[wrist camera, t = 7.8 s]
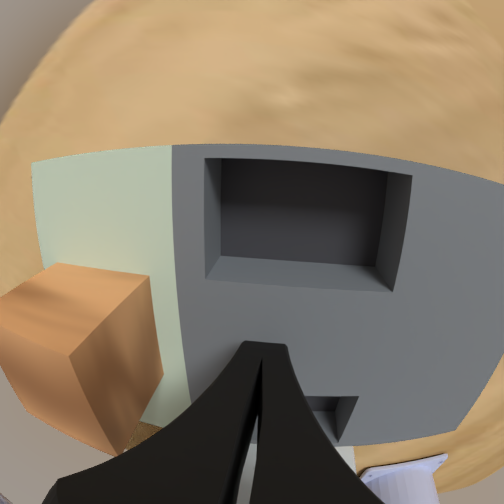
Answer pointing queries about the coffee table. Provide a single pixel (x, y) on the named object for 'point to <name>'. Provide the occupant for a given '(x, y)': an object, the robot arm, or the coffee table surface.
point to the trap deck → (298, 272)
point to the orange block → (82, 351)
